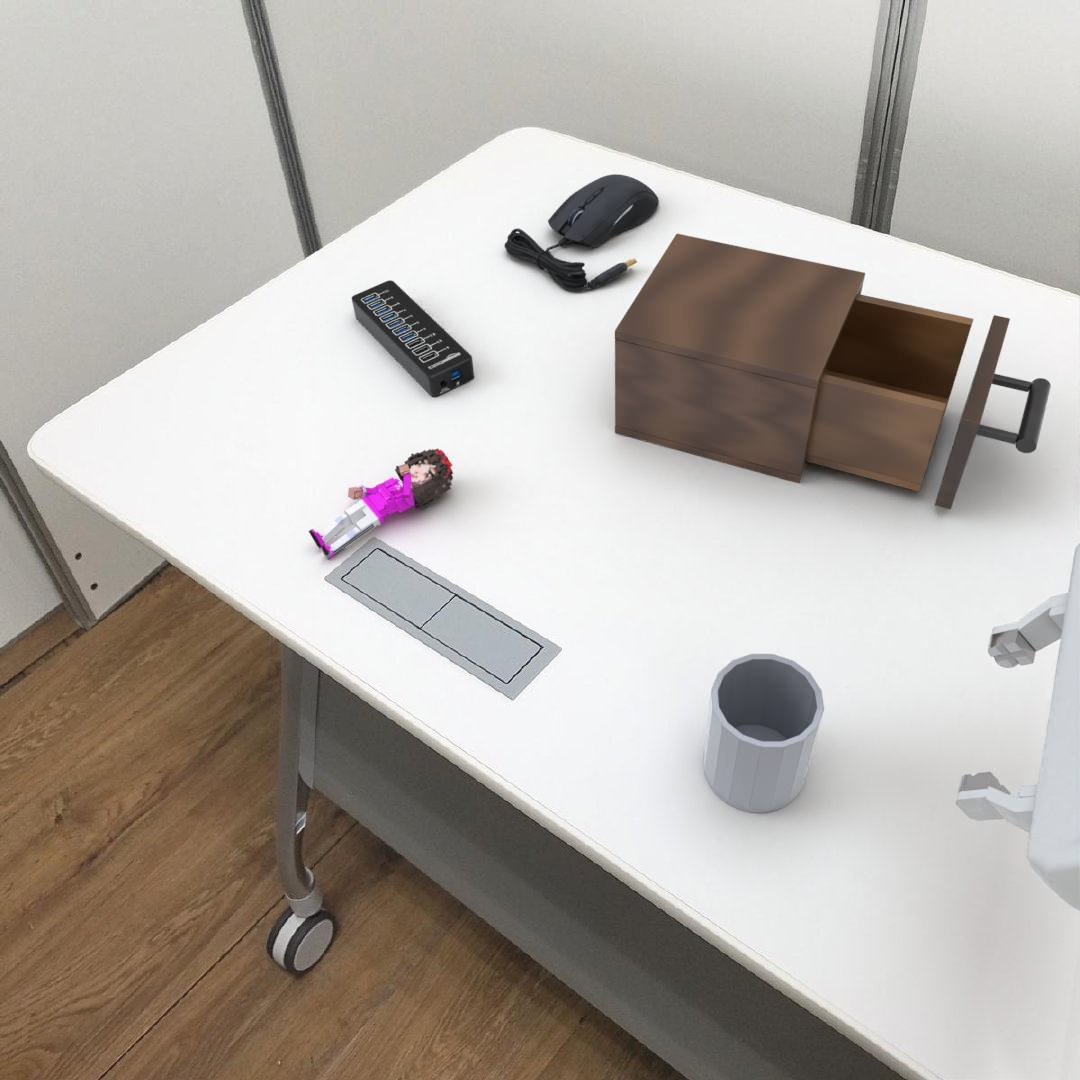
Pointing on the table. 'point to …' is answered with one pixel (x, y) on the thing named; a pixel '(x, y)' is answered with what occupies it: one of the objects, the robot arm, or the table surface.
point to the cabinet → (730, 353)
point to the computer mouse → (589, 227)
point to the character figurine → (389, 498)
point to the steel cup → (761, 731)
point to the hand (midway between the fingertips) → (980, 720)
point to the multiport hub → (413, 338)
